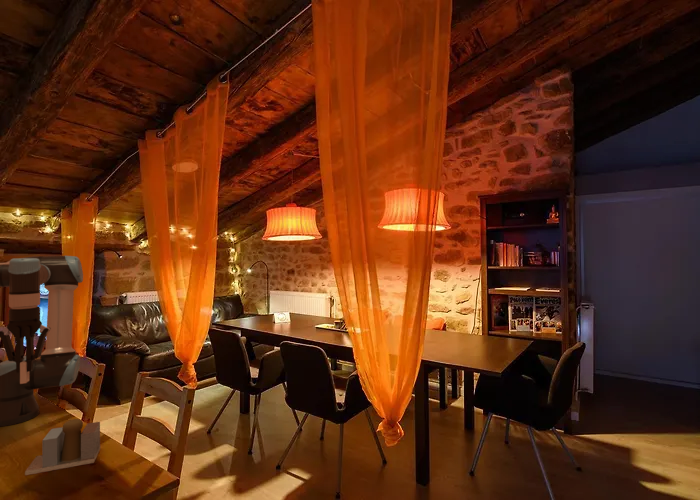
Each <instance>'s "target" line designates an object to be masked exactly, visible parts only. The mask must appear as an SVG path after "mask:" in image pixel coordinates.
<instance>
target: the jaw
mask: <svg viewBox="0 0 700 500" xmlns="http://www.w3.org/2000/svg"><path fill="white" fill-rule="evenodd" d="M62 428H63V426H62V427H55V428H51V429H50V430H49V431H48V433H47V434H46V435H45V437H44V438H43V439H42V442H41V443H42V445H41V446H42V447H41V449H42V450H41V451H42V452H41V453H42V467H47V466H53V465H57V464H58V462H59V460H60V459H61V455H62V448H63V442H64V435H65V433H64V432H63V429H62Z"/></svg>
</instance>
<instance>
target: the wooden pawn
mask: <svg viewBox="0 0 700 500" xmlns="http://www.w3.org/2000/svg"><path fill="white" fill-rule="evenodd" d="M83 426H84V423H83V420H81V419H80V418H73V419H70V420H68V421H65V422H64V423H63V425H62V427H63V428H62V429H63V432H64V433H65V435H64V442H63V448H62V455H61V460H62V461H71V460H75V459H77V458H80V457H81V433H82V429H83Z"/></svg>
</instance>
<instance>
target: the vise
mask: <svg viewBox="0 0 700 500" xmlns="http://www.w3.org/2000/svg"><path fill="white" fill-rule="evenodd" d="M100 451H101V422H100V421H95V422H87V424H86V425H85V426H84V428H83V430H82V431H81V457H80V458H77V459H75V460H71V461H62V460H61V459H60V460H59V462H58V464H57V465H53V466H47V467H42V455H36V456H35V458H34V459H32V461H31V463H30V464H29V466H28V467H27V468H26V469H25V471H24V476H29V475H35V474H40V473H45V472H51V471H57V470H62V469H66V468H67V469H68V468H73V467H77V466H83V465H88V464H89V465H90V464H94V463H95V461H96V459H97V457H98V454H99V453H100Z"/></svg>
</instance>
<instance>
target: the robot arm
mask: <svg viewBox="0 0 700 500" xmlns="http://www.w3.org/2000/svg"><path fill="white" fill-rule="evenodd" d="M83 280H84V272H83V266H82V263H81V259H80V258H79V257H78V256H73V255H42V256H41V255H32V256H27V257H20V258H16V257H15V258H14V257H13V258H11V259H10V260H7V261H6V262H0V288H8V307H9V310H8V324H7V325H6V328H4V329H2V330H0V339H1V340H2V344H3V348H4V351H5V354H6V357H7V359H6V360H3V361H2V362H0V427H7V426H11V425H13V426H14V425H17V424H21V423H24V422H26V421H30V420H31V419H33V418H36V417H37V416H38V415H39V414H40V406H39V404H38V402H37V400H36V397H35V394H34V393H35V392H34V390H38V389H39V390H40V389H47V388H53V387H63V386H67V385H72V384H73V383H75V381H76V379H77V378H78V374H79V369H80V365H81V356H80V355H79V354H77V353H76V352H77V351H76V350H75V349H74V348H73V346H72V343H73V322H74V321H73V320H74V318H73V315H74V296H75V293H74V291H75V290H76V289H78V288H79V284H80V283H82V282H83ZM42 285H43V287H44V289H46V290H47V291H48V293H47V294H48V296H47V315H46V316H47V317H46V326H45V325H43V323H42V320H41V307H40V304H41V286H42ZM38 331H39V333H40V334H39V336H38V339H37V343H36V345H35V347H34V344H35V343H34V341H35V340H34V339H35V335H36V333H37V332H38ZM10 333H11V334H12V335H13V336H14V341H15V348H14V345H13V342H12V338H11V336H10ZM24 339H25V342H24ZM24 343H25V346H24ZM44 344H45V349H44V351H43V348H44ZM24 347H25V350H24ZM34 349H35V350H34ZM24 351H25V352H24ZM24 353H25V355H24Z"/></svg>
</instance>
